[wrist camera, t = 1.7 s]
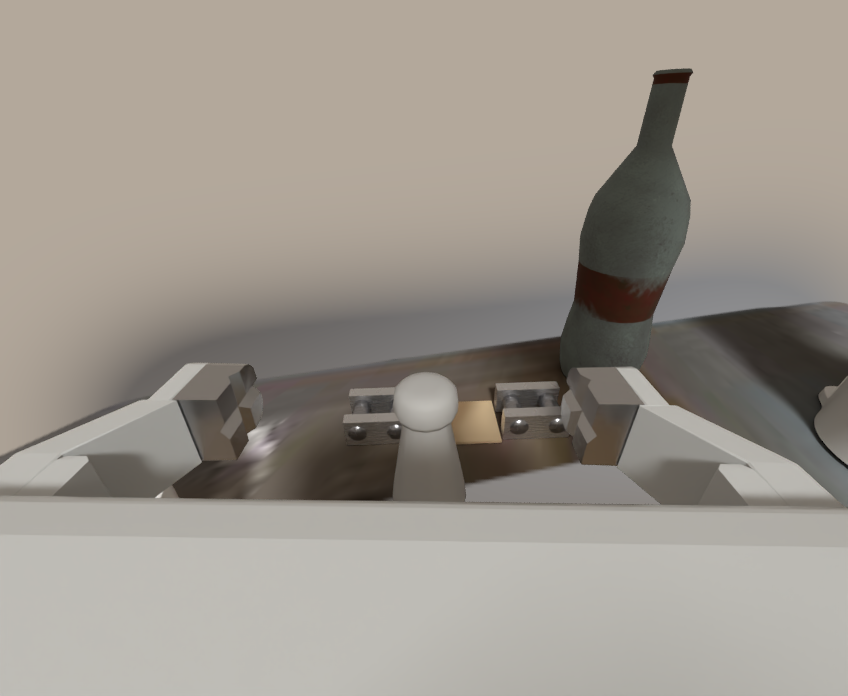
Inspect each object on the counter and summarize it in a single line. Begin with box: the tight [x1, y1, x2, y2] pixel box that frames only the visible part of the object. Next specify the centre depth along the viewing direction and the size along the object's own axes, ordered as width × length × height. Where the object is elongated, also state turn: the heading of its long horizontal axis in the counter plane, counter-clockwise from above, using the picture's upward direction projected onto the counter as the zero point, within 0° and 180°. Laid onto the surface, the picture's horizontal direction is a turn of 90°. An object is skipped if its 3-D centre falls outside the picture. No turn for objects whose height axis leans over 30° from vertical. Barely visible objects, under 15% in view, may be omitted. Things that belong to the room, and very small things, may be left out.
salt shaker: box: [393, 372, 466, 502], centre depth 27 cm, size 6×6×13 cm
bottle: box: [560, 69, 693, 377], centre depth 38 cm, size 9×9×30 cm
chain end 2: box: [494, 381, 569, 440], centre depth 39 cm, size 6×5×3 cm
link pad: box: [451, 401, 502, 444], centre depth 39 cm, size 9×6×1 cm
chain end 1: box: [343, 387, 402, 445], centre depth 39 cm, size 6×5×3 cm
